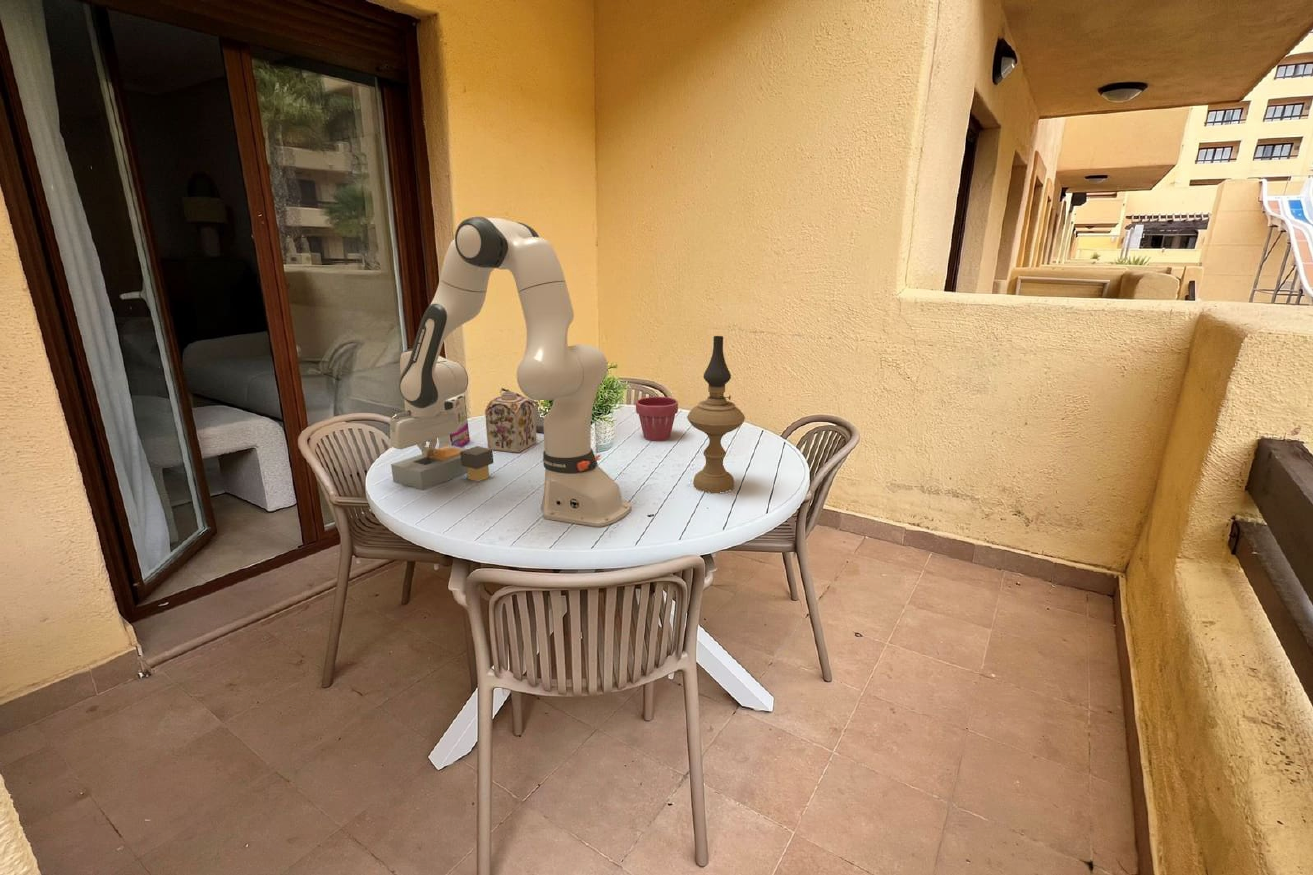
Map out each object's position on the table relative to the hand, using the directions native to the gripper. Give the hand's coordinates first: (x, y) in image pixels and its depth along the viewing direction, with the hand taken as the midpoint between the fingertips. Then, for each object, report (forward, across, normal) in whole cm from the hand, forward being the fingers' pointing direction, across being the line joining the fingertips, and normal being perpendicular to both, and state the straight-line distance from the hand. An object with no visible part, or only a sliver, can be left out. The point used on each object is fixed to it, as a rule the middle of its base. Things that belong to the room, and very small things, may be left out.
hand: (428, 455), depth 161 cm
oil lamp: (+7, +34, -71) cm, 79 cm away
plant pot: (+7, +65, -35) cm, 74 cm away
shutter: (+1, +6, 0) cm, 6 cm away
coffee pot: (+6, +51, +8) cm, 52 cm away
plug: (+6, +6, -12) cm, 15 cm away
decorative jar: (+6, +32, 0) cm, 33 cm away
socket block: (+6, +2, 0) cm, 7 cm away
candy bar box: (+6, +22, +16) cm, 28 cm away
